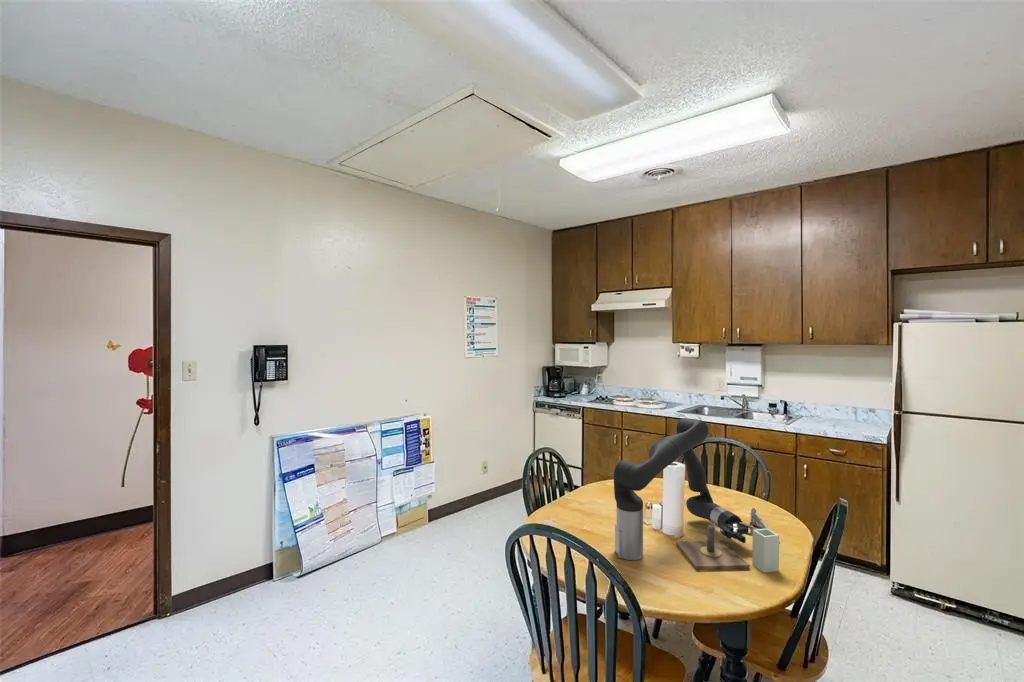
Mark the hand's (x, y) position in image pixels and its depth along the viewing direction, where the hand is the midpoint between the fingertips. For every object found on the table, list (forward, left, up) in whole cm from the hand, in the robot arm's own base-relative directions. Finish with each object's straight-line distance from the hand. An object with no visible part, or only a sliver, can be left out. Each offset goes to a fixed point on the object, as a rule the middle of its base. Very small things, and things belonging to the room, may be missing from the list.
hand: (755, 539), depth 164 cm
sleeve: (+1, -5, -8) cm, 9 cm away
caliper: (+16, +22, -8) cm, 28 cm away
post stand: (-14, +3, -8) cm, 16 cm away
